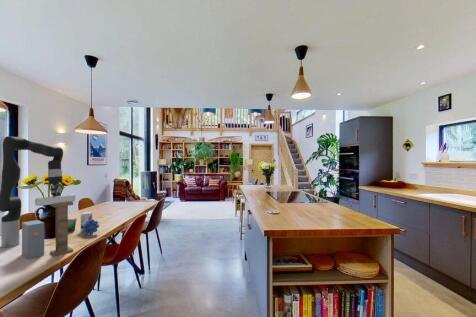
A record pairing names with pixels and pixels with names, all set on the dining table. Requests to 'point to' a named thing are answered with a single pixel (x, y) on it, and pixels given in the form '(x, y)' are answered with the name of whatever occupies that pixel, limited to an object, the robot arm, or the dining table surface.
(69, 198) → the steel spout bar
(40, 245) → the block
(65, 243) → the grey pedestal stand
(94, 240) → the dining table surface
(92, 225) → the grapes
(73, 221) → the food container
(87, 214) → the supplement can
